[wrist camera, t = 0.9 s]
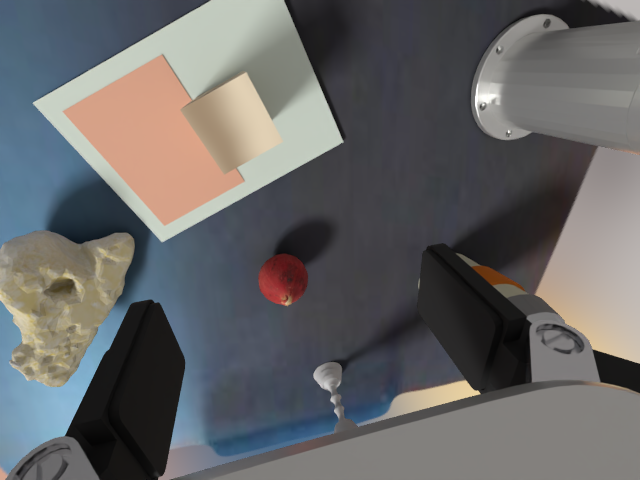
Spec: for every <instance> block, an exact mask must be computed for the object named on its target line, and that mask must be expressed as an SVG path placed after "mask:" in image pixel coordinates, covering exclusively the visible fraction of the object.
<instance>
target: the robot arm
mask: <svg viewBox="0 0 640 480" xmlns="http://www.w3.org/2000/svg"><path fill="white" fill-rule="evenodd" d="M471 106H472V113H473V116H474V119H475V121H476V123H477V124H478V126H479V128H480V129H481V130H482V131H483V132H484V133H486V134H487V135H489V136H491V137H494V138H498V139H502V140H512V139H518V138H521V137H524V136H526V135H528V134H530V133H532V132H536V133H541V134H545V135H550V136H554V137H559V138H564V139H568V140H573V141H578V142H582V143H587V144H591V145H596V146H601V147H605V148H610V149H615V150H619V151H624V152H628V153H633V154H638V155H640V21H632V22H623V23H614V24H606V25H597V26H589V27H580V28H571V29H569V27H568V25H567V24H566V23H565V22H564V21H562V20H561V19H560V18H558V17H556V16H553V15H547V14H539V15H533V16H529V17H525V18H522V19H520V20H518V21H516V22H514V23H513V24H511V25H509V26H508V27H507V28H506V29H504V30H503V31H502V32H501V33H500V34H499V35H498V36H497V37H496V38H495V39H494V40H493V42H492V43H491V44H490V46H489V47H488V49H487V50H486V52H485V53H484V55H483V57H482V59H481V61H480V63H479V65H478V67H477V70H476V73H475V76H474V79H473V84H472V89H471ZM417 308H418V312H419V314H420V316H421V317H422V318H423V320H424V321H425V323H426V324H427V325H428V327H429V328H430V330H431V331H432V332H433V334H434V335H435V337H436V338H437V339H438V341H439V342H440V344H441V345H442V346H443V348H444V349H445V351H446V352H447V354H448V355H449V356H450V358H451V359H452V361H453V362H454V363H455V365H456V366H457V368H458V369H459V370H460V372H461V373H462V375H463V376H464V377H465V379H466V380H467V382H468V383H469V384H470V386H471V387H472V388H473V389H474V390H478V391H479V392H480V393H481V394H480V395H476V396H472V397H468V398H464V399H460V400H457V401H453V402H449V403H445V404H442V405H438V406H434V407H430V408H427V409H423V410H419V411H416V412H412V413H408V414H404V415H400V416H397V417H393V418H389V419H386V420H382V421H378V422H375V423H371V424H367V425H364V426H360V427H356V428H353V429H349V430H345V431H342V432H338V433H334V434H331V435H327V436H323V437H320V438H316V439H313V440H309V441H305V442H302V443H298V444H295V445H291V446H287V447H284V448H280V449H276V450H273V451H269V452H266V453H263V454H259V455H255V456H251V457H248V458H244V459H241V460H237V461H233V462H230V463H226V464H223V465H219V466H216V467H212V468H209V469H205V470H202V471H199V472H195V473H192V474H188V475H185V476H182V477H178V478H175V479H171V480H640V364H639V363H635V362H632V361H629V360H625V359H622V358H619V357H615V356H612V355H609V354H606V353H602V352H599V351H596V350H593V349H592V347H591V344H590V342H589V340H588V339H587V338H586V337H585V336H584V335H583V334H582V333H580V332H579V331H578V330H576V329H575V328H573V327H571V326H569V325H567V324H564V323H561V322H558V321H553V320H539V321H536V322H534V323H533V324H532V323H531V322H530V321H529V320H527V316H526V315H525V314H524V313H523V312H522V311H521V310H519V309H518V308H517V307H516V306H515V305H514V304H513V303H511V302H510V301H509V300H508V299H507V298H506V297H505V296H504V295H502V294H501V293H500V292H499V291H498V290H497V289H496V288H494V287H493V286H492V285H491V284H490V283H489V282H488V281H487V280H485V279H484V278H483V277H482V276H481V275H480V274H479V273H477V272H476V271H475V270H474V269H473V268H472V267H471V266H470V265H468V264H467V263H466V262H465V261H464V260H463V259H462V258H460V257H459V256H458V255H457V254H456V253H455V252H454V251H452V250H451V249H450V248H449V247H448V246H447V245H446V244H443V243H442V244H436V245H431V246H428V247H427V249H426V251H423V254H422V263H421V273H420V283H419V292H418V302H417ZM184 370H185V359H184V356H183V353H182V351H181V349H180V347H179V344H178V342H177V340H176V338H175V335H174V333H173V331H172V329H171V326H170V324H169V322H168V320H167V318H166V315H165V313H164V311H163V309H162V306H161V304H160V303H154V301H153V300H145V301H140V302H135V303H132V304H131V305H130V307H129V309H128V311H127V313H126V315H125V317H124V319H123V322H122V324H121V326H120V328H119V330H118V332H117V334H116V336H115V338H114V341H113V343H112V345H111V347H110V349H109V350H108V351H106V353H105V354H104V356H103V358H102V360H101V362H100V364H99V366H98V368H97V370H96V372H95V374H94V377H93V379H92V381H91V383H90V385H89V387H88V389H87V391H86V393H85V395H84V397H83V399H82V401H81V404H80V406H79V408H78V410H77V412H76V414H75V416H74V418H73V420H72V422H71V424H70V426H69V428H68V431H67V433H66V435H65V436H64V437H58V438H54V439H52V440H49V441H47V442H44V443H43V444H41V445H40V446H38V447H36V448H35V449H33V450H32V451H31V452H30V453H28V454H27V455H26V456H25V457H24V458H22V459H21V460H20V461H19V463H18V464H17V465H16V466H15V467H14V468H13V469H12V470H11V472H10V473H9V475H8V476H7V478H6V480H158V477H160V476H162V475H163V474H164V472H165V469H166V464H167V459H168V454H169V449H170V443H171V438H172V433H173V428H174V423H175V417H176V412H177V407H178V402H179V397H180V391H181V386H182V381H183V376H184Z"/></svg>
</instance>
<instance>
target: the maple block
mask: <svg viewBox="0 0 640 480" xmlns="http://www.w3.org/2000/svg"><path fill="white" fill-rule="evenodd" d="M180 111H181V112H182V114H183V115H184V116H185V118H186V119H187V121H188V122H189V124H190V125H191V127H192V128H193V130H194V131H195V133H196V134H197V135H198V137H199V138H200V140H201V141H202V143H203V144H204V146H205V147H206V149H207V150H208V152H209V153H210V155H211V156H212V157H213V159H214V160H215V162H216V163H217V165H218V166H219V168H220V169H221V171H222V172H223V174H224V175H225V174H226V173H228V172H230V171H232V170H234V169H235V168H237V167H239V166H241V165H242V164H244V163H246V162H248V161H250V160H251V159H253V158H255V157H257V156H259V155H260V154H262V153H264V152H266V151H268V150H269V149H271V148H273V147H275V146H277V145H278V144H280V143H282V142H283V140H282V138H281V136H280V134H279V133H278V131H277V129H276V127H275V125H274V123H273V121H272V119H271V118H270V116H269V114H268V112H267V110H266V108H265V106H264V104H263V102H262V101H261V99H260V97H259V95H258V93H257V91H256V89H255V87H254V86H253V84H252V82H251V80H250V78H249V76H248V74H247V72H245V71H242V72H240V73H238V74H237V75H235V76H233V77H231V78H229V79H228V80H226V81H224V82H222V83H221V84H219V85H217V86H215V87H214V88H212V89H210V90H208V91H207V92H205V93H203V94H201V95H199V96H198V97H196V98H195V99H193V100H192V101H191V102H189V103H188V104H187V105H185V106H184V107H183V108H182V109H180Z"/></svg>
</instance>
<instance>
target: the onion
mask: <svg viewBox="0 0 640 480" xmlns="http://www.w3.org/2000/svg"><path fill="white" fill-rule="evenodd" d="M258 279H259V287H260V291H261V292H262V293H263V294H264V296H265V297H266V298H267V299H268V300H270V301H272V302H274V303H276V304H282V305H286V306H287V305H289V304H291V303H292V302H295V301H297V300H298V299H299V298H300V297H301V296H302V295H303V294H304V292H305V290H306V288H307V283H308V274H307V271H306V269H305V266H304V265H303V263H302V262H301V261H300V260H299V259H298V258H297V257H295V256H293V255H289V254H285V253H284V254H279V255H275V256H274V257H272V258H270V259H269V260H267V261H266V262H265V264H264V265H263V266H262V267H261V270H260V273H259V278H258Z"/></svg>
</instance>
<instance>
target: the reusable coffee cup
mask: <svg viewBox="0 0 640 480" xmlns="http://www.w3.org/2000/svg"><path fill="white" fill-rule="evenodd" d="M456 254H457V255H458V256H459V257H460V258H462V259H463V260H464V261H465V262H466V263H467V264H468V265H470V266H471V267H472V268H473V269H474V270H475V271H476V272H477V273H479V274H480V275H481V276H482V277H483V278H484V279H485V280H487V281H488V282H489V283H490V284H491V285H492V286H493V287H494V288H496V289H497V290H498V291H499V292H500V293H501V294H502V295H504V296H505V297H506V298H507V299H508V300H509V301H510V302H511V303H513V304H514V305H515V306H516V307H517V308H518V309H519V310H521V311H522V312H523V313H524V314H525V315H526V316H527V320H529V321H530V322H531V323H532V324H533V323H534V322H536V321H539V320H553V321H558V322H561V323H564V324H565V322H564V320H563V319H562V317H561V316H560V315H559V314H558V313H556V312H555V311H554V310H553V309H552V308H551V307H550V306H549V305H548V304H547V303H546V302H545V301H544V300H542V299H541V298H540V297H538V296H535V295H530V294H528V293H526V292H525V290H524V289H523V287H522V286H521V285H519V284H518V283H516V282H514V281H512V280H511V279H509V278H507V277H505V276H504V275H502V274H500V273H499V272H497V271H495V270H493V269H491V268H490V267H486V266H481V265H479V264H477V263H476V262H474V261H472V260H471V259H469V258H467V257H465V256H464V255H462V254H458V253H456ZM419 283H420V279H419ZM418 286H419V285H418Z"/></svg>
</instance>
